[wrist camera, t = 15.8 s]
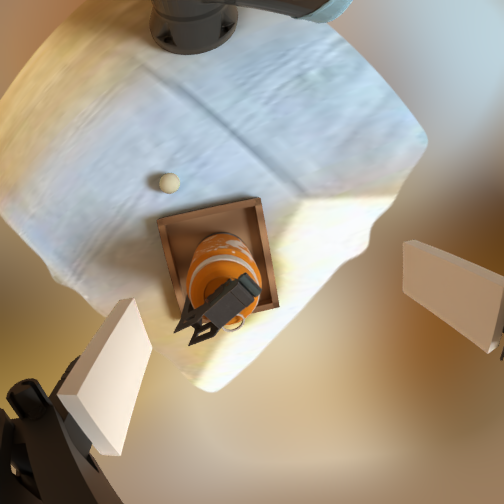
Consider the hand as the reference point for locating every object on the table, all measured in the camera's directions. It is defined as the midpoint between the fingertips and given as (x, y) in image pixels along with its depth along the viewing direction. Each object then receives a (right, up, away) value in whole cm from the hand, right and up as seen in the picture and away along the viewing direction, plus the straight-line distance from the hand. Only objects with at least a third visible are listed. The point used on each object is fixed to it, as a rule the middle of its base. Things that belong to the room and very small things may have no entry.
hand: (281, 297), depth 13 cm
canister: (-7, 0, +33) cm, 34 cm away
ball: (-14, +13, +30) cm, 36 cm away
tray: (-7, 0, +34) cm, 35 cm away
